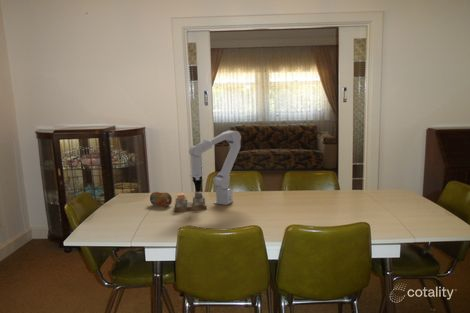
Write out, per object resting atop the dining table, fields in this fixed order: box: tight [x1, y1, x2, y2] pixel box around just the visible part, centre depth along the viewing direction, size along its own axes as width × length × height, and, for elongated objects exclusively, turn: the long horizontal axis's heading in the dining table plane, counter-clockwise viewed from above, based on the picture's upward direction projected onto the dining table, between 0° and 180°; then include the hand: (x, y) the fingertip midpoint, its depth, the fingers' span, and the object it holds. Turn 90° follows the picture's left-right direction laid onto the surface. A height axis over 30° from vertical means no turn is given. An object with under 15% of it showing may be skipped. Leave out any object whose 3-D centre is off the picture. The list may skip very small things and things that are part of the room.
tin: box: [149, 191, 173, 208], centre depth 215 cm, size 15×3×8 cm, turn 62°
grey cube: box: [194, 191, 203, 199], centre depth 207 cm, size 4×4×4 cm
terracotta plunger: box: [176, 192, 186, 200], centre depth 206 cm, size 4×4×4 cm
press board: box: [174, 194, 208, 213], centre depth 207 cm, size 18×10×6 cm, turn 98°
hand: (197, 189), depth 206 cm, fingers open, 7 cm apart
